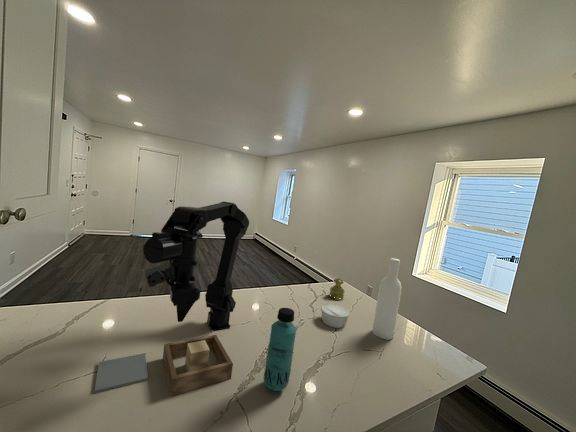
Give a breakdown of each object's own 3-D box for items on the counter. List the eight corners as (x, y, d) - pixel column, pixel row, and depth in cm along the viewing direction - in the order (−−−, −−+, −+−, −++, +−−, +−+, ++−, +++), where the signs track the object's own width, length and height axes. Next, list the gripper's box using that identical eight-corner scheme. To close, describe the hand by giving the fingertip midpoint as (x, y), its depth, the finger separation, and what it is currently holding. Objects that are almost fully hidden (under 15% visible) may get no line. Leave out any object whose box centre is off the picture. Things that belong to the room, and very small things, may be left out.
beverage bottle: (262, 377, 65) (272, 303, 64) (287, 378, 66) (298, 305, 65) (261, 396, 59) (273, 314, 57) (289, 398, 59) (301, 317, 58)
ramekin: (316, 323, 99) (318, 311, 98) (323, 313, 109) (325, 301, 109) (345, 332, 95) (347, 319, 94) (349, 321, 105) (351, 309, 105)
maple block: (202, 361, 68) (204, 340, 68) (206, 371, 64) (209, 349, 64) (184, 365, 66) (187, 343, 65) (188, 376, 62) (191, 353, 62)
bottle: (395, 342, 93) (408, 263, 91) (373, 336, 94) (386, 259, 93) (391, 331, 101) (403, 258, 99) (371, 327, 102) (382, 255, 100)
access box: (214, 347, 75) (216, 334, 74) (231, 378, 63) (232, 363, 63) (162, 358, 67) (164, 344, 67) (170, 396, 55) (172, 379, 55)
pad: (144, 355, 67) (145, 353, 67) (147, 380, 59) (147, 377, 59) (98, 364, 62) (98, 362, 62) (94, 393, 53) (94, 390, 53)
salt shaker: (334, 293, 135) (337, 275, 135) (346, 299, 130) (349, 280, 130) (326, 296, 130) (329, 277, 130) (338, 301, 125) (341, 282, 124)
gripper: (147, 246, 69) (142, 301, 70) (150, 267, 53) (142, 337, 54) (190, 247, 75) (184, 297, 76) (203, 266, 59) (196, 329, 60)
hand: (177, 313), depth 66 cm, fingers open, 9 cm apart
